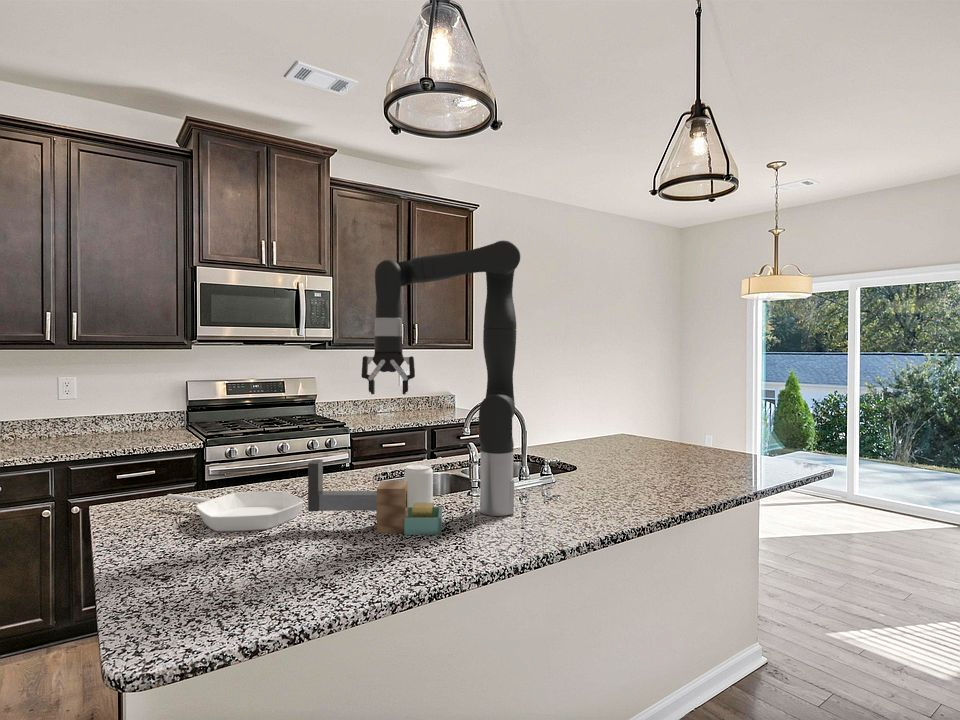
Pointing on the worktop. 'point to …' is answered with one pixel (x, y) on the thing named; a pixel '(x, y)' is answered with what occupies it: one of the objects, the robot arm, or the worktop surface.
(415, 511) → the block
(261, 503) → the pan
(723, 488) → the worktop surface
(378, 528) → the block
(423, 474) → the beverage can
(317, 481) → the grey l-shaped block
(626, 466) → the worktop surface
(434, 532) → the tray
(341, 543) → the worktop surface
